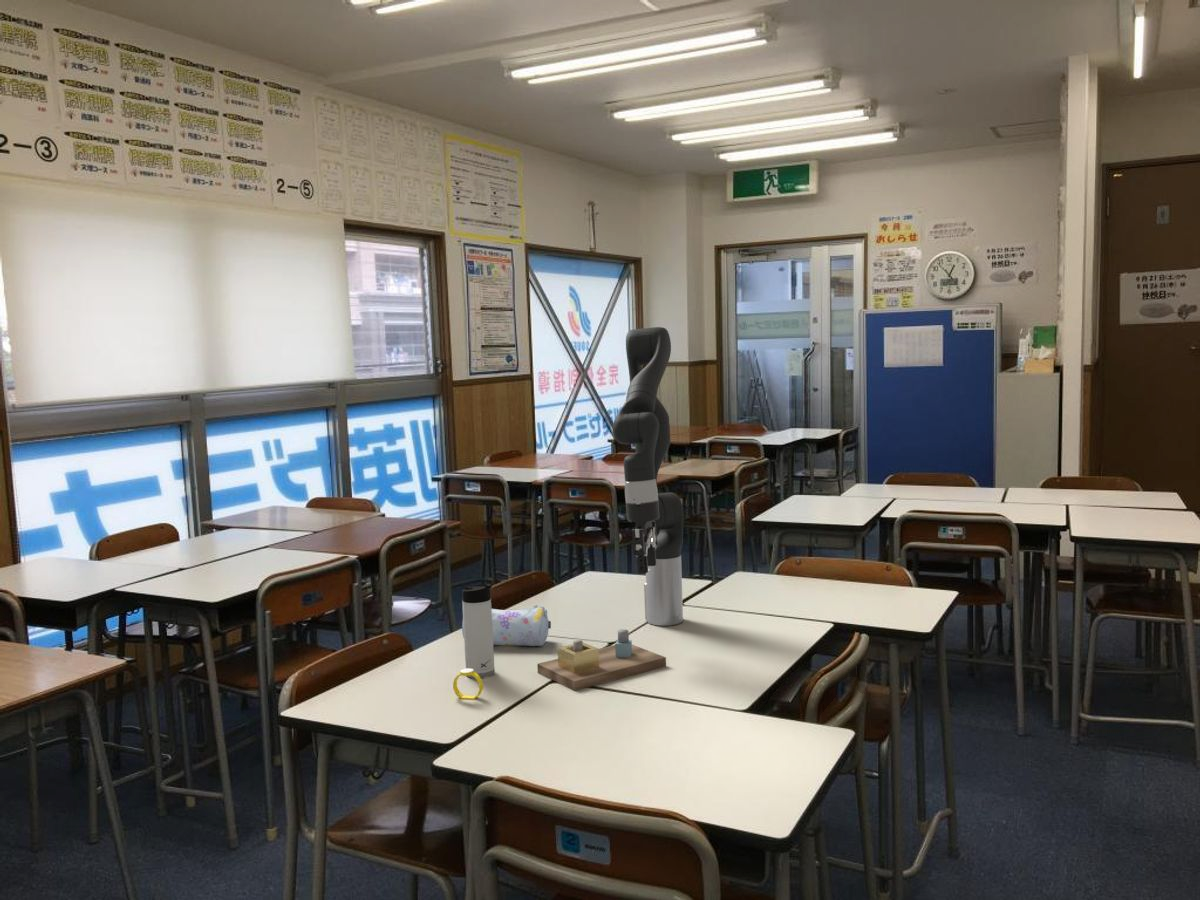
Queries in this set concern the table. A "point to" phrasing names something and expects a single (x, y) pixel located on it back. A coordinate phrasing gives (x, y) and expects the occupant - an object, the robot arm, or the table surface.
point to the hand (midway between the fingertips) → (647, 569)
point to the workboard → (603, 667)
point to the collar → (578, 658)
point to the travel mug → (478, 629)
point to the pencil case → (519, 627)
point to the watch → (466, 673)
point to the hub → (623, 644)
